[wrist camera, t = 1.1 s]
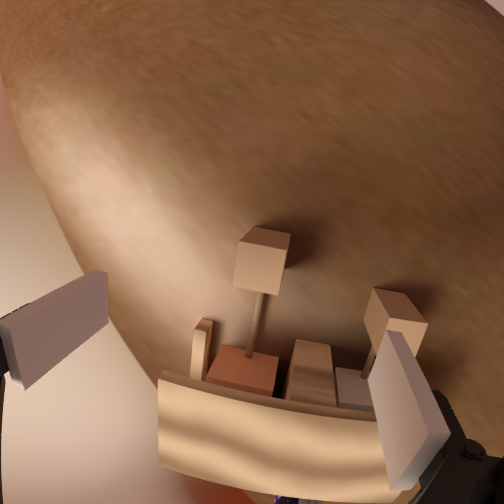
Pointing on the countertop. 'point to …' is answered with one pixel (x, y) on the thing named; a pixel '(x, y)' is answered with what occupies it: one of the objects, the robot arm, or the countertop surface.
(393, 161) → the countertop surface
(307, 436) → the shelf
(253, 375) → the tether block terracotta
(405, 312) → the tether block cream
